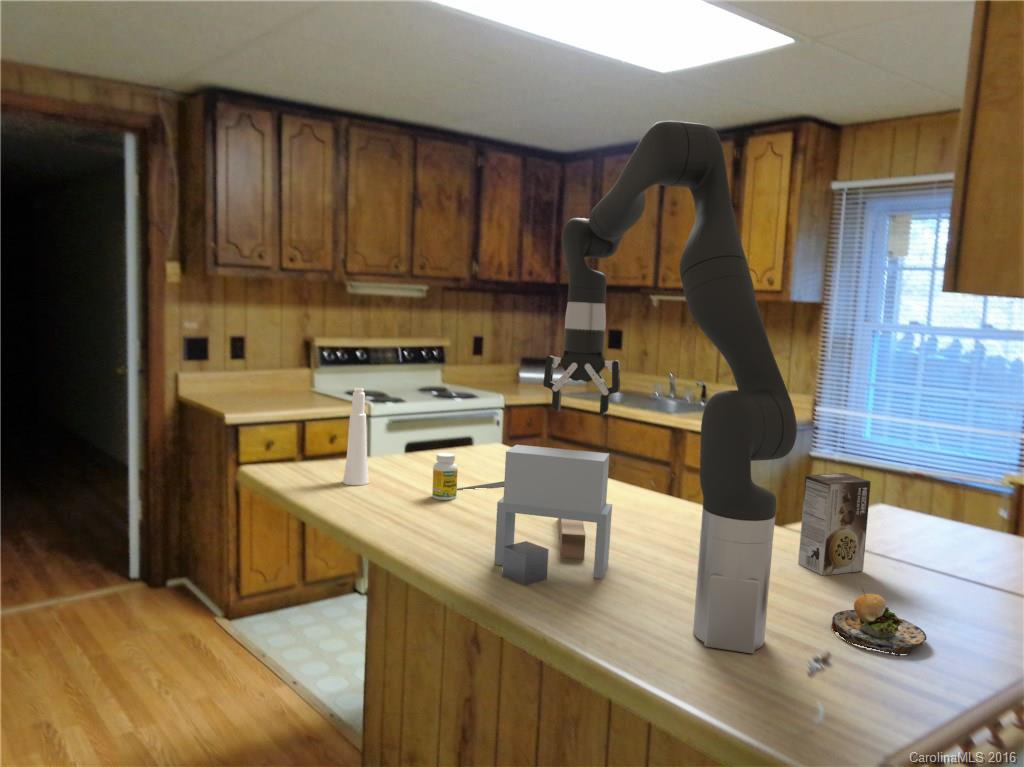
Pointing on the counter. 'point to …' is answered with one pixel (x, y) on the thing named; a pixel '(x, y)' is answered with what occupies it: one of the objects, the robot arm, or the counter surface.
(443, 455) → the supplement bottle
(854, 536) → the coffee box
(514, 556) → the cube
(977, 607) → the counter surface
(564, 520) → the bar
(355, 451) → the cosmetic bottle
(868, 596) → the burger
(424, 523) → the counter surface
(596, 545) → the cabinet
